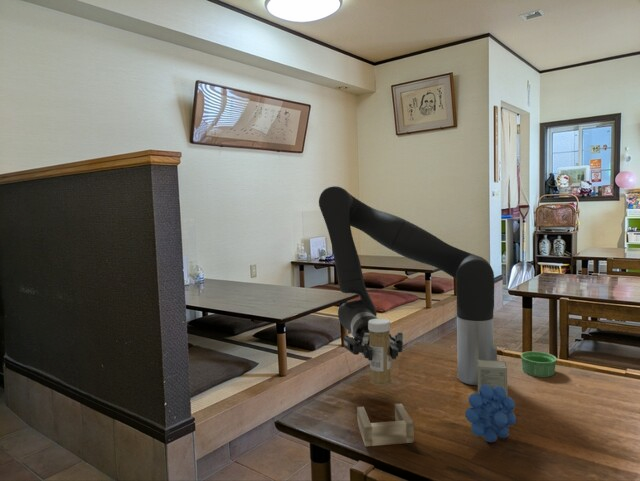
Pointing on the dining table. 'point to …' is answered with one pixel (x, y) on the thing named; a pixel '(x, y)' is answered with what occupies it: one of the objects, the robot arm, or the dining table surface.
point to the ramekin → (538, 363)
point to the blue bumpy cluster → (491, 413)
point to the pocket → (386, 428)
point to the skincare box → (492, 374)
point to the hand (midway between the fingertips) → (382, 355)
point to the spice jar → (379, 351)
